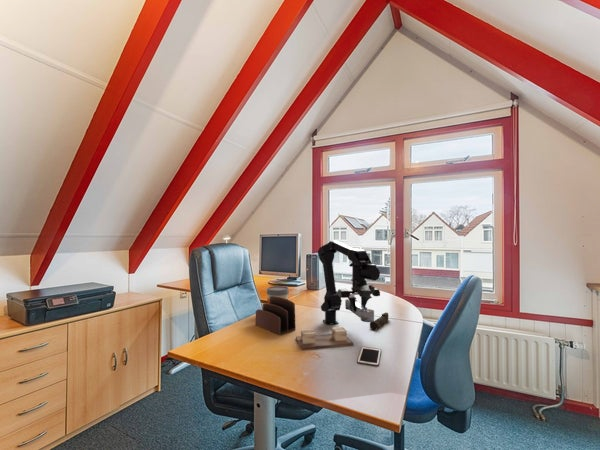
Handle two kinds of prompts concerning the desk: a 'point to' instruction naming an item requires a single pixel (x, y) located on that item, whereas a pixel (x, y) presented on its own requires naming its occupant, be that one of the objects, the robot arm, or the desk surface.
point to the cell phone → (369, 356)
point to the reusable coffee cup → (277, 292)
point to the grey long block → (361, 311)
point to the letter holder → (277, 316)
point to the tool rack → (323, 339)
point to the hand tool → (379, 321)
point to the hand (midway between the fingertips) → (358, 311)
